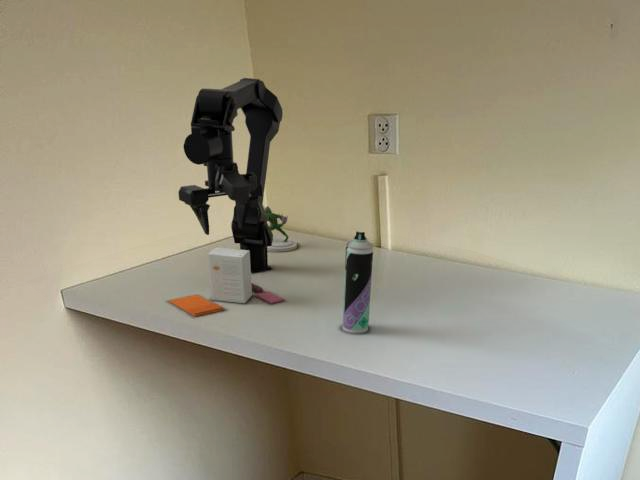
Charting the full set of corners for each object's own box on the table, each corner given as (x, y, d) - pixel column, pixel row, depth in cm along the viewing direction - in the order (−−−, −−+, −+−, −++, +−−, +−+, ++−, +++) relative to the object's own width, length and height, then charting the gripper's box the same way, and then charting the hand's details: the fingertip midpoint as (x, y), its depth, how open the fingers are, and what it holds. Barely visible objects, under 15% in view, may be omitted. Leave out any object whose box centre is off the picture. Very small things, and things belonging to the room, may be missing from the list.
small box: (252, 296, 157) (250, 250, 151) (245, 304, 152) (243, 256, 146) (219, 292, 158) (216, 246, 152) (210, 300, 153) (207, 253, 147)
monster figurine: (274, 237, 199) (273, 200, 193) (305, 246, 194) (305, 208, 188) (245, 245, 191) (244, 207, 185) (277, 254, 186) (277, 215, 180)
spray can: (349, 335, 141) (354, 236, 129) (338, 325, 145) (341, 229, 133) (372, 331, 143) (379, 234, 132) (360, 322, 147) (366, 227, 135)
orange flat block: (197, 295, 155) (197, 293, 154) (223, 310, 148) (223, 307, 148) (169, 301, 151) (169, 299, 150) (195, 316, 144) (195, 313, 144)
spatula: (230, 283, 163) (229, 277, 162) (242, 281, 165) (242, 274, 164) (271, 304, 153) (271, 297, 152) (283, 301, 155) (283, 294, 154)
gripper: (202, 167, 135) (208, 246, 144) (277, 159, 146) (278, 233, 155) (173, 157, 142) (181, 234, 151) (247, 150, 152) (250, 222, 161)
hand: (224, 231), depth 154 cm, fingers open, 9 cm apart
